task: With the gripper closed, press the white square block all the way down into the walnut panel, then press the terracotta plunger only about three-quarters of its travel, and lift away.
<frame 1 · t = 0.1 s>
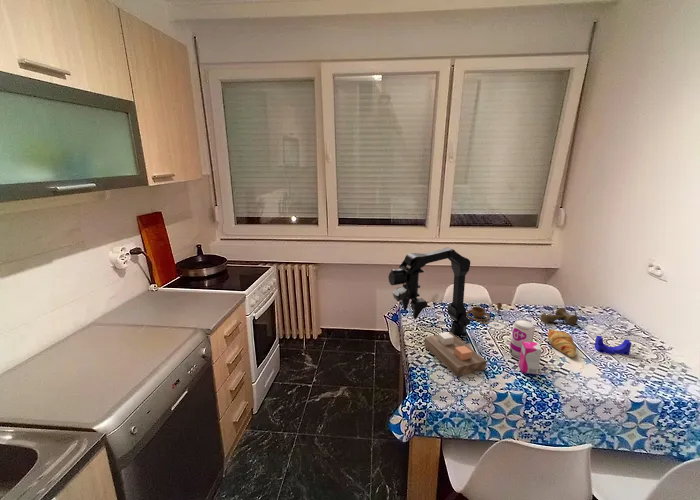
hand: (409, 314, 150), 15 cm above the table, fingers open, 9 cm apart
supplement can: (519, 354, 146), on the table
white square block: (445, 338, 148), point 5 cm above the table, slide at 0.0 cm
terracotta plunger: (463, 353, 137), point 5 cm above the table, slide at 0.0 cm
croissant: (559, 346, 152), on the table
button panel: (452, 356, 144), on the table
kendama: (559, 322, 176), on the table
supplement box: (527, 370, 135), on the table
place setting: (485, 318, 180), on the table
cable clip: (611, 352, 148), on the table
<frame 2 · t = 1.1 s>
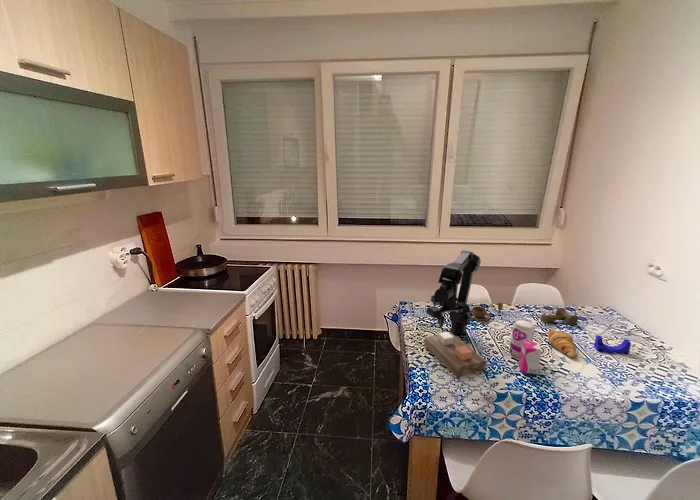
hand: (446, 327, 146), 11 cm above the table, fingers open, 6 cm apart
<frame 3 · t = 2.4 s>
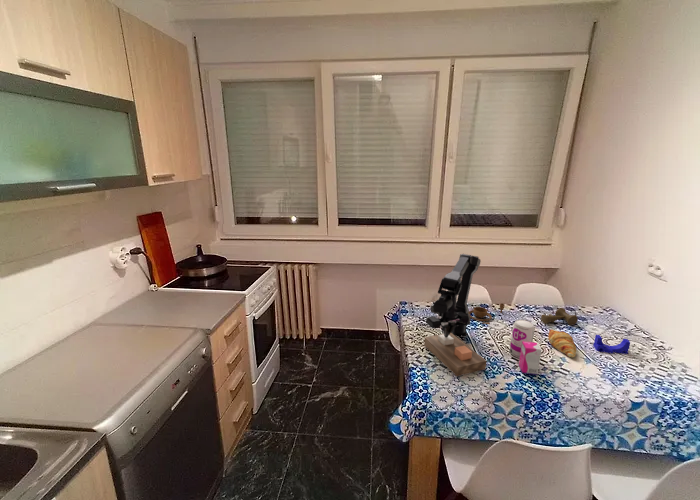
hand: (445, 336, 147), 6 cm above the table, fingers closed, pressing on white square block
white square block: (445, 340, 148), point 4 cm above the table, slide at 0.8 cm, touching gripper
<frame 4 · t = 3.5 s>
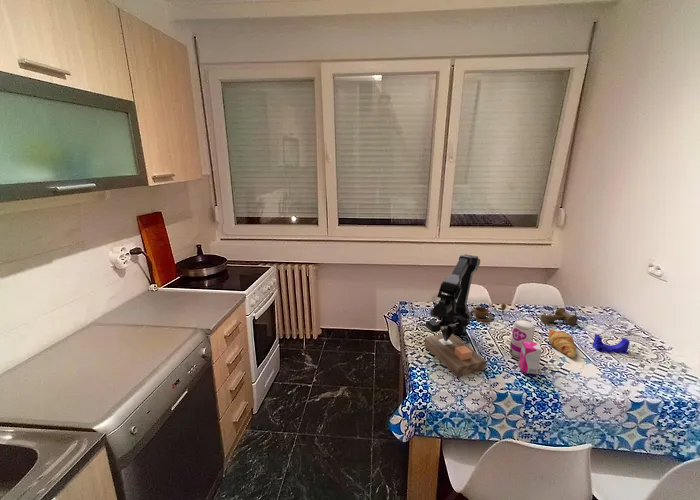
hand: (445, 340, 148), 4 cm above the table, fingers closed
white square block: (445, 344, 148), point 2 cm above the table, slide at 3.1 cm
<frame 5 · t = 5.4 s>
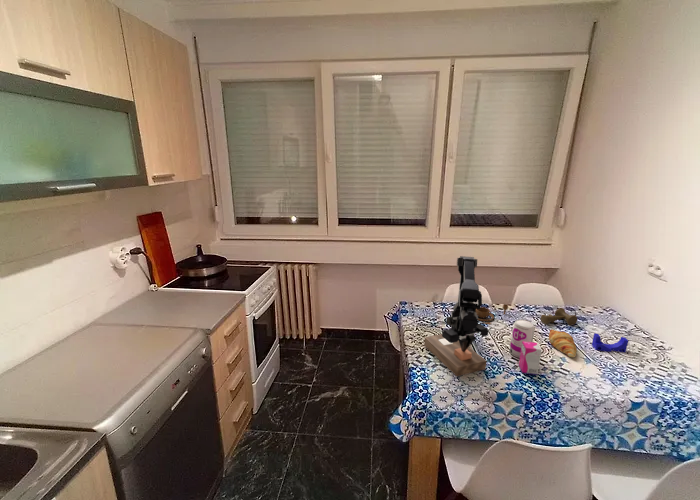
hand: (463, 351, 137), 6 cm above the table, fingers closed, pressing on terracotta plunger
terracotta plunger: (462, 354, 137), point 4 cm above the table, slide at 0.8 cm, touching gripper
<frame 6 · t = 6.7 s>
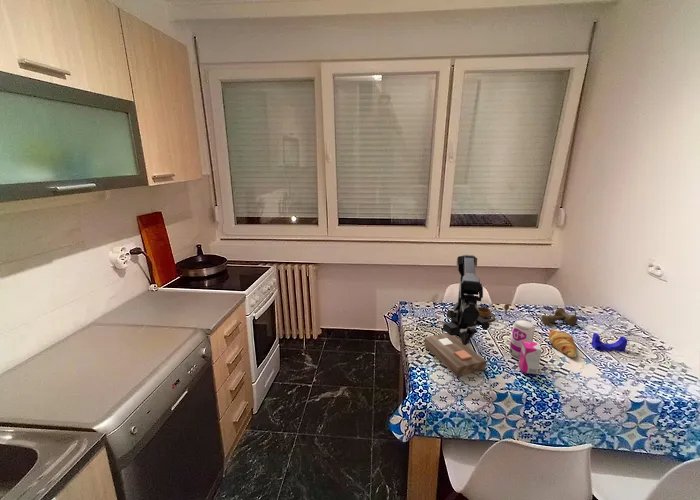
hand: (464, 344, 136), 9 cm above the table, fingers closed
terracotta plunger: (462, 357, 137), point 3 cm above the table, slide at 2.1 cm
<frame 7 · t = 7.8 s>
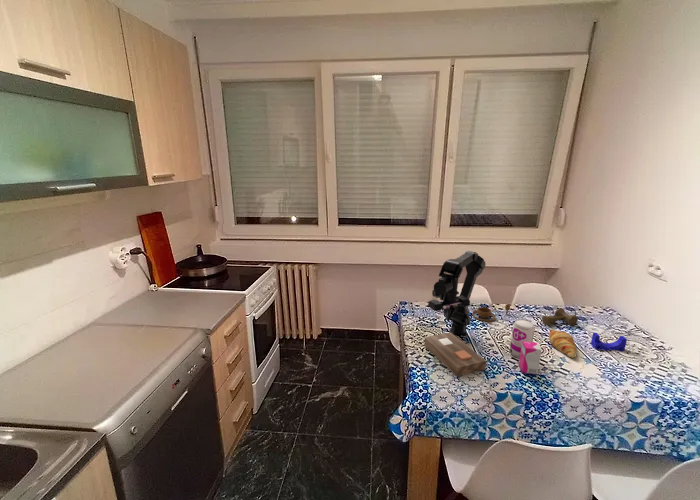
hand: (447, 320, 150), 12 cm above the table, fingers closed
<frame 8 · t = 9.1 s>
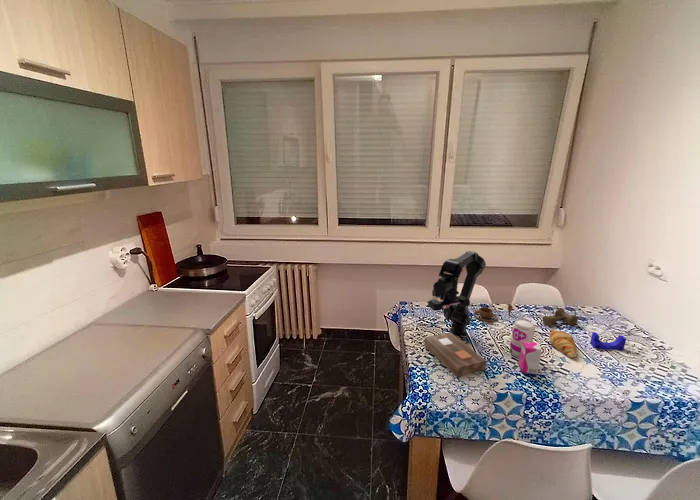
hand: (447, 320, 150), 12 cm above the table, fingers closed
at the end: white square block slide at 3.1 cm; terracotta plunger slide at 2.1 cm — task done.
